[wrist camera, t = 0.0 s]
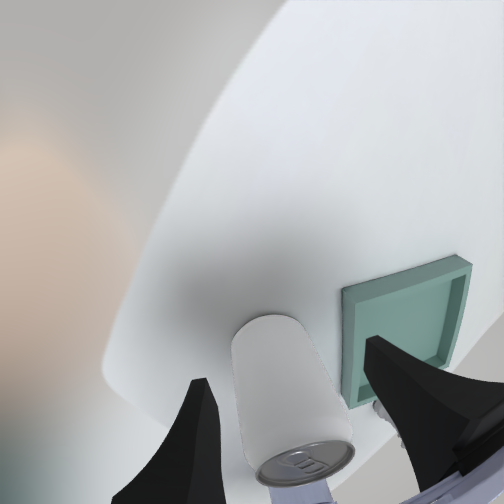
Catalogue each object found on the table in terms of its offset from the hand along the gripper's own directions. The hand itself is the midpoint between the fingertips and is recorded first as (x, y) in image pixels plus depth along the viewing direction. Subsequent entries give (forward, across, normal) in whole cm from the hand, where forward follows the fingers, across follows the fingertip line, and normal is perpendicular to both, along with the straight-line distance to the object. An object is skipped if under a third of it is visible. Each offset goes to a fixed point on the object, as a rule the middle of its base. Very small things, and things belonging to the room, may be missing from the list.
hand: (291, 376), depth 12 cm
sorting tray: (+10, -13, +9) cm, 19 cm away
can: (+10, 0, +6) cm, 12 cm away
